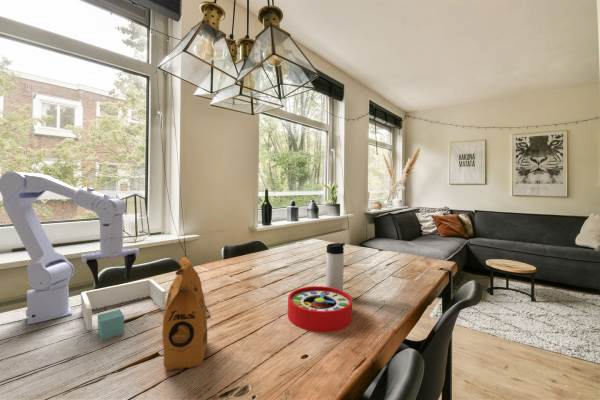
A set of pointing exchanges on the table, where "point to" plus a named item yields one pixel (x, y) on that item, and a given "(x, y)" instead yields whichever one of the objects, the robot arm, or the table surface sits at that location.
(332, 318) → the toy clock
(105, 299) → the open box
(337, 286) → the travel mug
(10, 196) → the robot arm
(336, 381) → the table surface
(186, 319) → the coffee package
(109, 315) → the teal block
